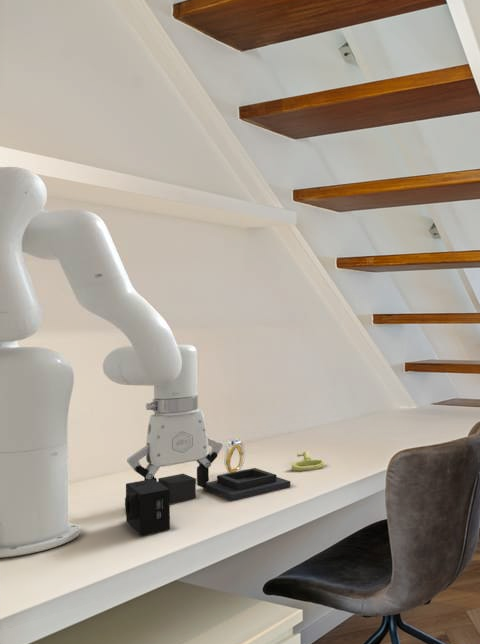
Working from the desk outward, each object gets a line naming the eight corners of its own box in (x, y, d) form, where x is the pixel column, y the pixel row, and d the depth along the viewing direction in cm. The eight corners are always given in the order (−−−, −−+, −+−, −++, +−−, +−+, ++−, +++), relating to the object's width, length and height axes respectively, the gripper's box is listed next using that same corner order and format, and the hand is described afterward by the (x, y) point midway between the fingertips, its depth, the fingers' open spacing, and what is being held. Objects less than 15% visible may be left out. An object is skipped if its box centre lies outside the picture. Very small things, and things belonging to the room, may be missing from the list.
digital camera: (117, 524, 104) (117, 484, 104) (153, 516, 108) (153, 477, 108) (131, 538, 96) (131, 495, 96) (169, 529, 100) (169, 488, 100)
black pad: (170, 504, 115) (170, 483, 115) (158, 498, 119) (158, 478, 119) (195, 498, 118) (195, 478, 118) (183, 492, 122) (183, 473, 122)
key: (307, 458, 151) (307, 450, 151) (327, 467, 142) (327, 458, 142) (278, 464, 146) (278, 455, 146) (297, 473, 137) (297, 464, 137)
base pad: (231, 500, 116) (231, 487, 116) (203, 488, 125) (203, 476, 125) (290, 486, 125) (290, 474, 125) (259, 476, 134) (259, 464, 134)
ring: (238, 469, 142) (237, 435, 142) (250, 469, 141) (250, 435, 141) (219, 477, 135) (218, 441, 135) (232, 477, 134) (231, 442, 134)
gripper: (132, 413, 110) (133, 506, 110) (229, 402, 123) (230, 485, 123) (119, 410, 115) (120, 499, 114) (214, 399, 128) (215, 479, 128)
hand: (177, 491), depth 119 cm, fingers open, 8 cm apart
